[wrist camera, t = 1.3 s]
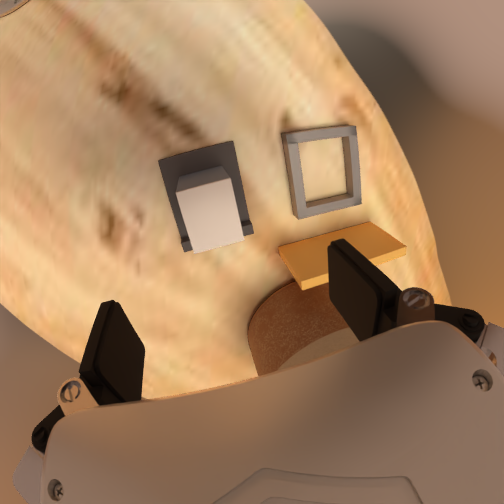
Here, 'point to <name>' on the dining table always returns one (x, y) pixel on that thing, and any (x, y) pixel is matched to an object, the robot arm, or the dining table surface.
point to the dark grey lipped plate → (198, 162)
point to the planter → (296, 328)
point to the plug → (209, 209)
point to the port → (360, 236)
